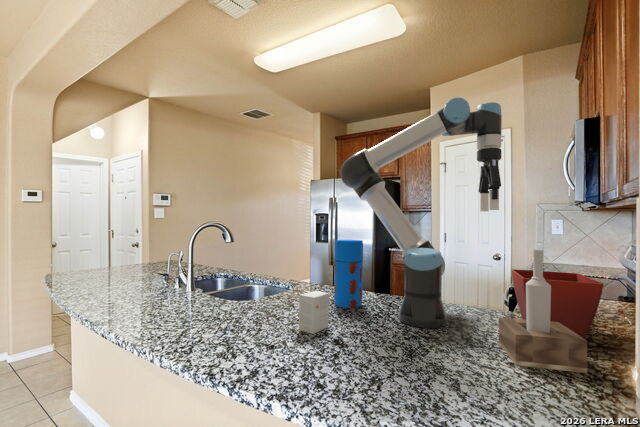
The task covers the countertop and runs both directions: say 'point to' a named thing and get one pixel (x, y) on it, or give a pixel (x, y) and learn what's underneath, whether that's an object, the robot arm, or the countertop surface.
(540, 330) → the bottle
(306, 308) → the small box
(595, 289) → the plant pot
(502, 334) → the socket block
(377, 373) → the countertop surface
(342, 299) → the thermos
